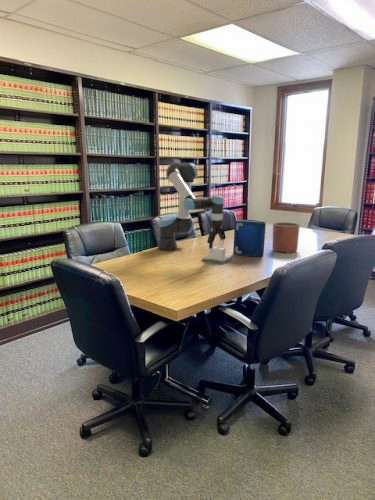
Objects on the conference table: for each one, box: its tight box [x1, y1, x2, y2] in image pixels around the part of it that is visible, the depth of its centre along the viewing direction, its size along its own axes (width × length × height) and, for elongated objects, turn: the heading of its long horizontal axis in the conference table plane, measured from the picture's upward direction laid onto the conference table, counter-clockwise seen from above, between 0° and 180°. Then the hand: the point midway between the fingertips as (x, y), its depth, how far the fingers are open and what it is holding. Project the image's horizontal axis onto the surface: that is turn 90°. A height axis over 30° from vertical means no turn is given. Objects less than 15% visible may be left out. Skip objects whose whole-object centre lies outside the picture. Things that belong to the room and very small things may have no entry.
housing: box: [208, 246, 226, 260], centre depth 246 cm, size 10×6×7 cm, turn 56°
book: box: [232, 219, 267, 258], centre depth 258 cm, size 22×7×25 cm, turn 71°
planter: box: [272, 221, 300, 254], centre depth 273 cm, size 19×19×20 cm
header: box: [201, 255, 232, 265], centre depth 247 cm, size 16×12×5 cm
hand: (216, 250), depth 247 cm, fingers open, 13 cm apart
